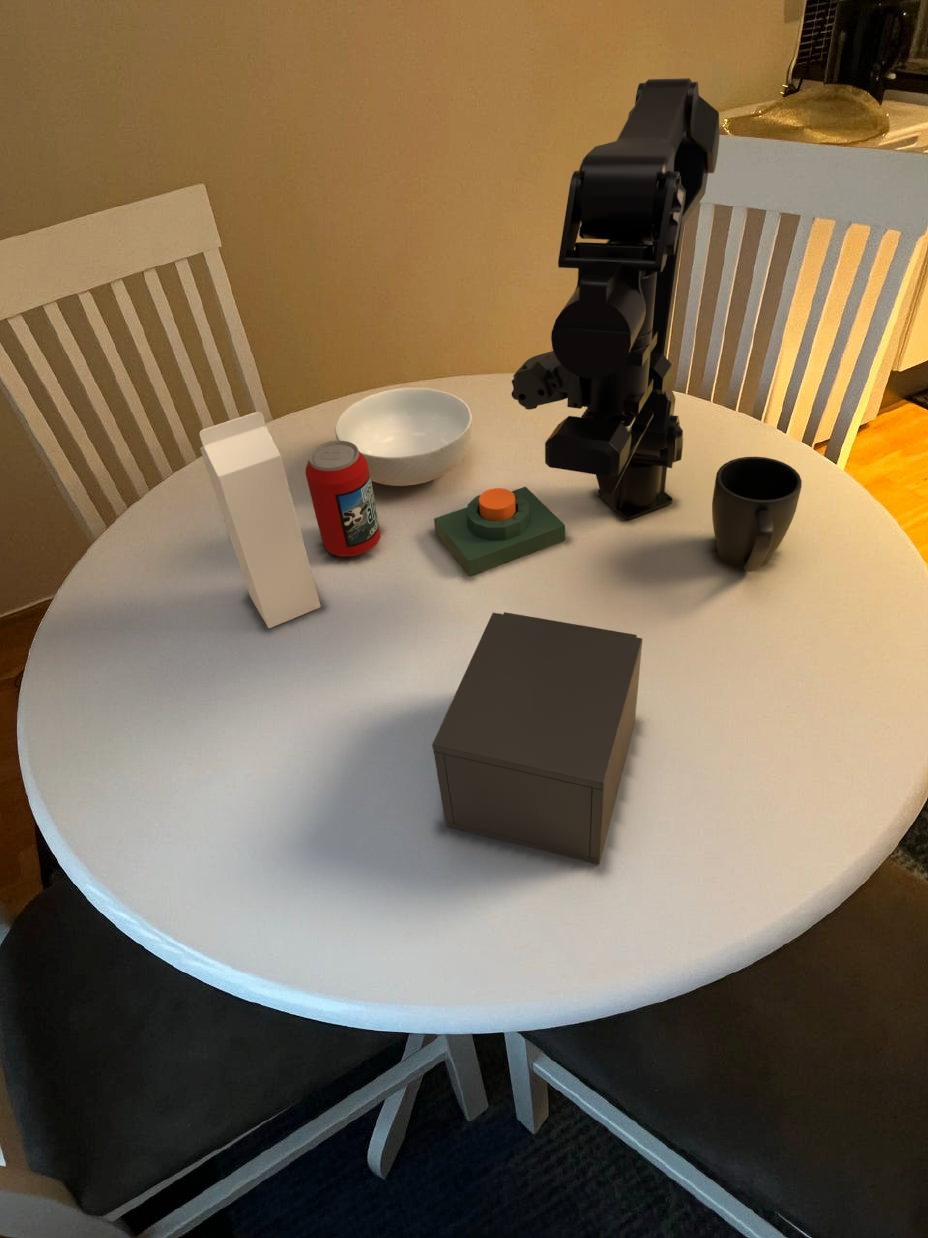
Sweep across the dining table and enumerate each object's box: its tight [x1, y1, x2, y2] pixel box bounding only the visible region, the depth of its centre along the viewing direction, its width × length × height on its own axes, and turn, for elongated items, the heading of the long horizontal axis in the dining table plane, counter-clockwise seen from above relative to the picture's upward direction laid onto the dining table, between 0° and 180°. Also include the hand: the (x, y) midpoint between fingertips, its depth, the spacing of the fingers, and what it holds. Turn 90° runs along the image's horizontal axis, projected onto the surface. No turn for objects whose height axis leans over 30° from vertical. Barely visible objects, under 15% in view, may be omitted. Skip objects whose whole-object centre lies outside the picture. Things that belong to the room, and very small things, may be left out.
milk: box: [198, 411, 322, 629], centre depth 82 cm, size 6×6×22 cm
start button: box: [479, 487, 516, 521], centre depth 92 cm, size 4×4×2 cm
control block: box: [433, 486, 566, 577], centre depth 94 cm, size 12×9×4 cm
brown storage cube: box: [432, 612, 643, 866], centre depth 67 cm, size 15×13×11 cm
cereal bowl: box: [334, 387, 473, 487], centre depth 105 cm, size 17×17×7 cm
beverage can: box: [304, 440, 381, 557], centre depth 92 cm, size 7×7×12 cm
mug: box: [711, 456, 803, 573], centre depth 85 cm, size 8×12×10 cm
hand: (607, 492), depth 78 cm, fingers closed
